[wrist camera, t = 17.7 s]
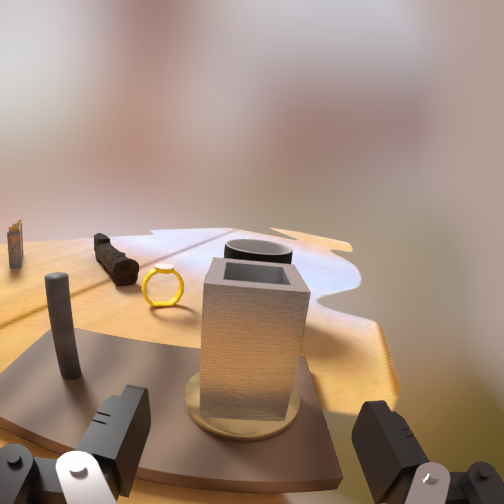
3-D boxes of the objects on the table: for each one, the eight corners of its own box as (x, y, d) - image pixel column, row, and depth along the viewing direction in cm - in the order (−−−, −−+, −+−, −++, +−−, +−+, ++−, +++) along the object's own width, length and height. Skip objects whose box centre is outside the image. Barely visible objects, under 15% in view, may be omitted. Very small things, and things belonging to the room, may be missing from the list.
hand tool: (140, 285, 50) (140, 254, 49) (113, 288, 47) (113, 255, 46) (110, 254, 67) (110, 231, 66) (91, 255, 64) (91, 231, 63)
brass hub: (254, 462, 16) (269, 382, 15) (161, 400, 21) (157, 323, 20) (316, 398, 24) (334, 327, 22) (232, 361, 29) (238, 294, 27)
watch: (144, 311, 40) (144, 269, 39) (140, 303, 43) (140, 264, 41) (185, 307, 43) (186, 267, 42) (179, 300, 46) (180, 262, 44)
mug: (259, 300, 49) (266, 238, 47) (295, 323, 42) (306, 252, 40) (189, 310, 43) (192, 239, 40) (219, 340, 35) (225, 256, 33)
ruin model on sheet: (23, 269, 49) (20, 221, 47) (10, 270, 47) (6, 222, 45) (25, 255, 57) (23, 214, 55) (13, 256, 55) (11, 214, 53)
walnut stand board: (-22, 414, 14) (-62, 296, 12) (58, 335, 30) (49, 246, 27) (336, 489, 15) (391, 368, 13) (302, 368, 31) (320, 274, 29)
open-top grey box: (284, 421, 19) (310, 292, 17) (199, 416, 19) (203, 283, 17) (276, 375, 25) (294, 264, 23) (207, 370, 25) (213, 257, 23)
